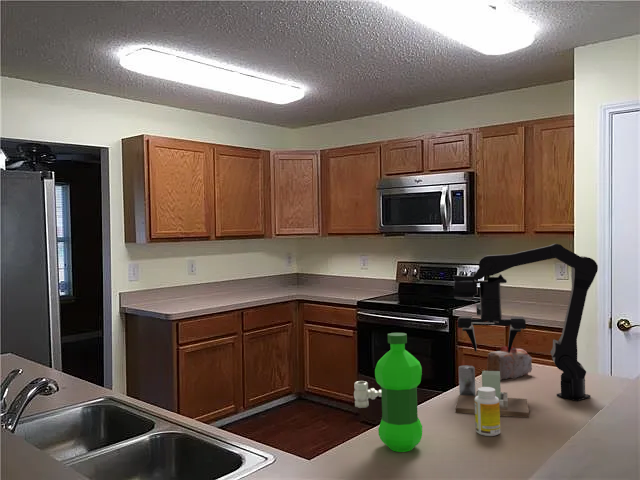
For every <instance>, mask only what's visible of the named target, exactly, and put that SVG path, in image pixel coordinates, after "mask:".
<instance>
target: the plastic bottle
mask: <svg viewBox="0 0 640 480" xmlns="http://www.w3.org/2000/svg"><path fill="white" fill-rule="evenodd" d="M407 343H408V335H407V333H405V332H391V333H387V344H390V345H389V346H390V350H389V351H387V352H386V353H385V354H384V355H383V356H382V357H380V359H379V360H377V363H376V365H375V369H374V377H375V382H376V383H377V384H378V385H379V387H380V390H381V395H382V397H381V412H382V413H381V420H380V423H379V426H378V436H379V438H380V440H381V442H382V443H383V444H384V445H385V446H387V447H388V448H389V449H390V450H391V451H393V452H397V453H405V452H411V451H412V450H413V449H414V448H416V446H418V445H419V444H420V442H421V440H422V438H423V424H422V423H421V420H420V418H419V417H418V416H419V415H418V391H417V390H418V386H419V385H420V384H421V381H422V377H423V376H422V375H423V373H422V372H423V367H422V365H421V363H420V361H419V360H418V359H417V358H416V357H415V356H414V355H413V354H412V353H411V352H409V351H408V350H406V344H407Z"/></svg>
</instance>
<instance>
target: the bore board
mask: <svg viewBox="0 0 640 480" xmlns="http://www.w3.org/2000/svg"><path fill="white" fill-rule="evenodd" d="M476 396H478V390H476ZM476 396H467V395H460V394H459V395H458V398H457V401H456V404H455V407H454V408H455V409H454V410H455V411H454V413H457V414H458V413H459V414H472V415H473V414H474V415H475V397H476ZM528 403H529V402H528V399H527V398H521V397H520V398H519V397H517V398H516V397H508V392H501V400H499V405H500V415H502V416H501V417H503V416H504V417H517V418H518V417H519V418H529V417H530V411H529V404H528Z"/></svg>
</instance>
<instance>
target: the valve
mask: <svg viewBox="0 0 640 480" xmlns="http://www.w3.org/2000/svg"><path fill="white" fill-rule="evenodd" d="M353 384H354V385H353V387H354V391H353V397H354V407H355V408H359V409H361V408H362V409H363V408H368V407H369V406H370V405H369V399H371V400H375V399H376V398H377V397H379V398H382V395H381V389H378V390H376V389H375V388H374V387H371V388H369V383H368V382H367V381H364V380H358V381H355V382H354V383H353Z"/></svg>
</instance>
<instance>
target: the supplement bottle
mask: <svg viewBox="0 0 640 480" xmlns="http://www.w3.org/2000/svg"><path fill="white" fill-rule="evenodd" d="M477 391H478V396H476V397H475V414H474V420H475V422H474V423H475V431H476V433H478V434H479V435H481V436H485V437H493V436H497V435H499V434H500V433H501V416H500V405H499V398H498V397H496V393H495V389H494V388H491V387H482V386H481V387H478V388H477Z"/></svg>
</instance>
